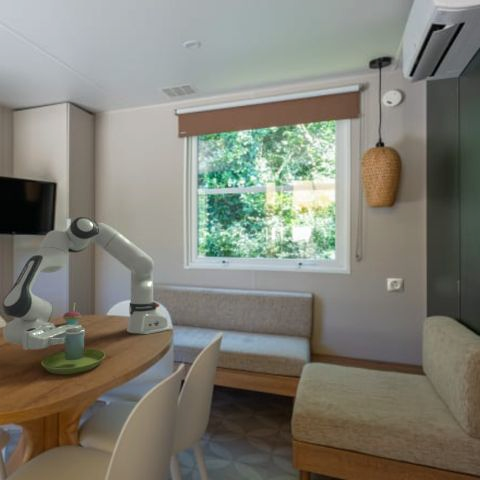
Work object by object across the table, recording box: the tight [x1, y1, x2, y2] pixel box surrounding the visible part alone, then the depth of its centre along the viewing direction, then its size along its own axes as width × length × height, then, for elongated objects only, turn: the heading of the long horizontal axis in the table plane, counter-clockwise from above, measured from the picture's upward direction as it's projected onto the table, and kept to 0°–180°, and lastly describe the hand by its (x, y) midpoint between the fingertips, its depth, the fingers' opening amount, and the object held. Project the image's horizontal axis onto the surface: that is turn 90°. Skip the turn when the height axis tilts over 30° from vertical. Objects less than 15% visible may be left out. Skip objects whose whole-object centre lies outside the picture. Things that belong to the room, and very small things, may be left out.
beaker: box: [64, 327, 86, 360], centre depth 119 cm, size 6×6×10 cm
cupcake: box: [62, 302, 82, 325], centre depth 176 cm, size 9×8×12 cm
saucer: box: [41, 348, 106, 375], centre depth 118 cm, size 21×21×3 cm
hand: (74, 337), depth 118 cm, fingers open, 8 cm apart
